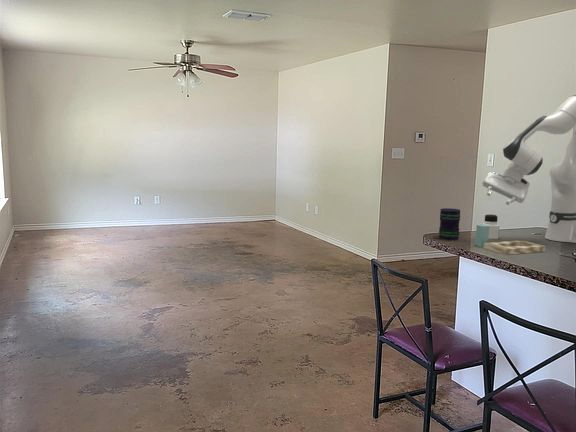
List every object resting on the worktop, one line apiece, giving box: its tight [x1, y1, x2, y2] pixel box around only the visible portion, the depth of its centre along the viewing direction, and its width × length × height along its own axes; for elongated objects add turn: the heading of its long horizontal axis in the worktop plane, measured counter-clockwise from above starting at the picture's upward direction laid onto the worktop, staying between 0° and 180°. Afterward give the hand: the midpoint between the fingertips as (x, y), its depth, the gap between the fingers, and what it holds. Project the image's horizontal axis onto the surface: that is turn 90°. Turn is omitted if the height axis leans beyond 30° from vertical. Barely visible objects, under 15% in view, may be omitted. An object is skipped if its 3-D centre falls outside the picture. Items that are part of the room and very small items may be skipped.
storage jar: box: [438, 207, 461, 241], centre depth 252 cm, size 10×10×15 cm
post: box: [474, 224, 489, 248], centre depth 235 cm, size 4×4×10 cm
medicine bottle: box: [481, 214, 500, 240], centre depth 255 cm, size 7×7×12 cm
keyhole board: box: [483, 239, 546, 256], centre depth 228 cm, size 22×14×2 cm, turn 108°
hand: (497, 199), depth 234 cm, fingers open, 8 cm apart
